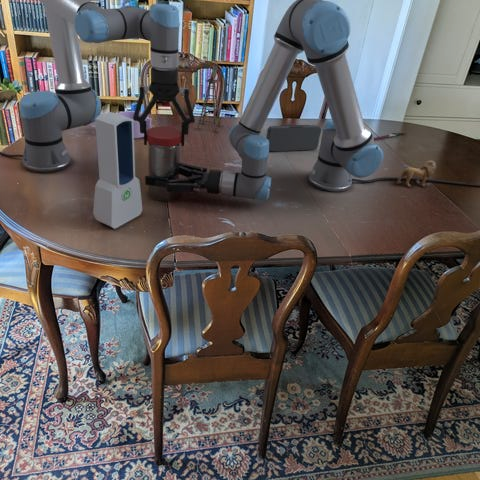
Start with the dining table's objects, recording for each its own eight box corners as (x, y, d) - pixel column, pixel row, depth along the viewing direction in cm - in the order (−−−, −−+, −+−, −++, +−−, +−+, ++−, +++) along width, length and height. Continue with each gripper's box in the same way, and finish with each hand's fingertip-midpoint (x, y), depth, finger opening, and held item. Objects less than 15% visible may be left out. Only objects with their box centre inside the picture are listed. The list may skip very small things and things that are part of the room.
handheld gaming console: (315, 147, 196) (319, 124, 190) (317, 149, 194) (322, 126, 188) (264, 149, 189) (267, 125, 183) (266, 152, 187) (269, 127, 181)
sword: (401, 132, 223) (402, 129, 222) (407, 134, 221) (407, 131, 220) (358, 143, 207) (358, 140, 206) (363, 145, 205) (364, 143, 204)
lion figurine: (423, 179, 178) (431, 157, 173) (433, 186, 174) (440, 163, 169) (391, 182, 173) (398, 160, 168) (400, 189, 169) (407, 166, 164)
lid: (139, 139, 138) (138, 131, 137) (163, 131, 145) (163, 124, 144) (164, 149, 133) (164, 141, 132) (188, 140, 141) (189, 133, 139)
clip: (101, 139, 182) (100, 121, 178) (98, 128, 192) (97, 111, 188) (152, 137, 188) (152, 120, 184) (147, 126, 198) (147, 110, 194)
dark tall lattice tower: (215, 132, 200) (220, 59, 184) (196, 129, 201) (199, 56, 185) (220, 125, 207) (225, 54, 191) (202, 122, 208) (205, 52, 192)
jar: (145, 189, 151) (144, 131, 140) (173, 186, 154) (174, 129, 144) (153, 202, 144) (153, 142, 133) (182, 199, 148) (184, 140, 137)
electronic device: (112, 230, 128) (105, 125, 112) (93, 221, 131) (83, 117, 115) (143, 213, 137) (140, 113, 121) (124, 205, 140) (119, 106, 124)
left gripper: (120, 68, 123) (124, 147, 135) (207, 73, 127) (203, 149, 139) (122, 61, 129) (125, 138, 141) (204, 66, 133) (201, 140, 145)
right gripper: (214, 210, 138) (140, 200, 138) (224, 178, 156) (158, 170, 157) (216, 187, 133) (139, 177, 134) (226, 157, 152) (158, 149, 153)
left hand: (164, 143), depth 140 cm, fingers closed on lid, 10 cm apart
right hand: (149, 173), depth 146 cm, fingers closed on jar, 9 cm apart
